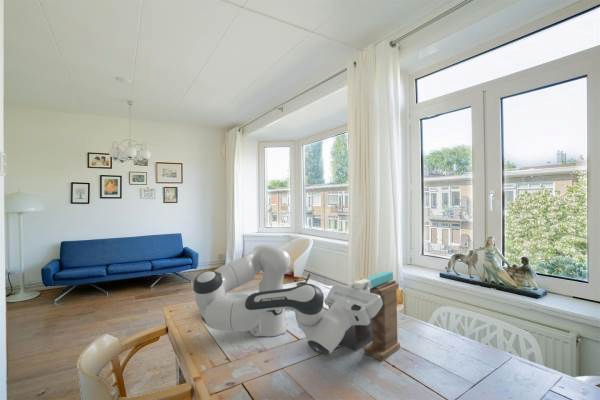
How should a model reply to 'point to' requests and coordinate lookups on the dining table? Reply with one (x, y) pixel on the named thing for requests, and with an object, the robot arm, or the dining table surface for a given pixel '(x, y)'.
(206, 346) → the dining table surface
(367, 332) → the switch box
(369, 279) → the teal bar
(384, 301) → the post
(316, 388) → the dining table surface
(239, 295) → the serving bowl
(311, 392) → the dining table surface
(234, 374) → the dining table surface
